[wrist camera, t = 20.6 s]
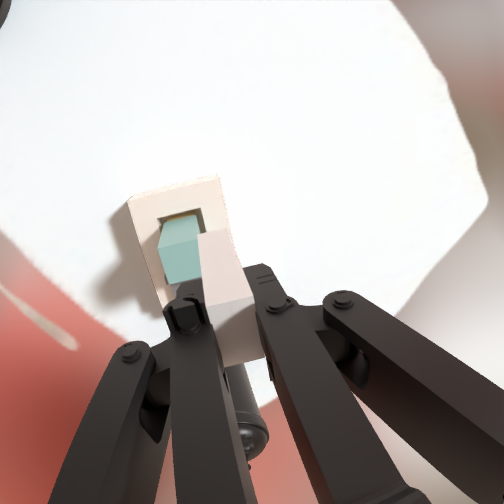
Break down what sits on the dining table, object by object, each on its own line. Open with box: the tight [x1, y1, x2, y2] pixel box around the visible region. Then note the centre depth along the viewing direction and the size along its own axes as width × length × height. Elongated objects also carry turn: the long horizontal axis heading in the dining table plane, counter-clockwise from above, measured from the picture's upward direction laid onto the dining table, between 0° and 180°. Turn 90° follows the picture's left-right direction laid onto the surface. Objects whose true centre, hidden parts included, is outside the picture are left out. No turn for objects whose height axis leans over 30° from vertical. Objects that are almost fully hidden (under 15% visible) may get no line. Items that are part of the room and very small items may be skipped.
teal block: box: [157, 211, 202, 285], centre depth 36 cm, size 4×4×12 cm
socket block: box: [127, 174, 235, 308], centre depth 41 cm, size 16×12×4 cm
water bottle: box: [224, 363, 269, 470], centre depth 41 cm, size 10×10×23 cm
